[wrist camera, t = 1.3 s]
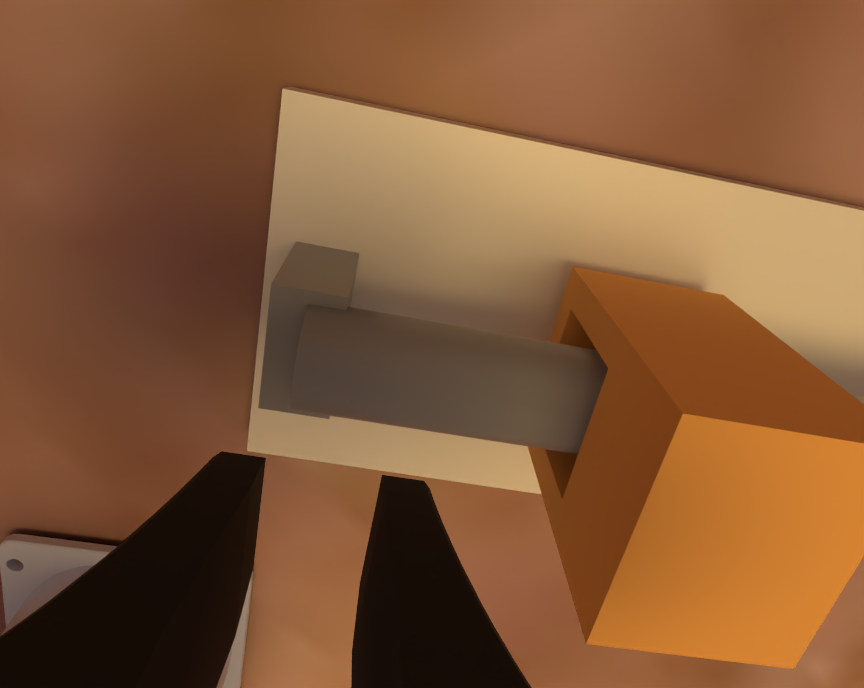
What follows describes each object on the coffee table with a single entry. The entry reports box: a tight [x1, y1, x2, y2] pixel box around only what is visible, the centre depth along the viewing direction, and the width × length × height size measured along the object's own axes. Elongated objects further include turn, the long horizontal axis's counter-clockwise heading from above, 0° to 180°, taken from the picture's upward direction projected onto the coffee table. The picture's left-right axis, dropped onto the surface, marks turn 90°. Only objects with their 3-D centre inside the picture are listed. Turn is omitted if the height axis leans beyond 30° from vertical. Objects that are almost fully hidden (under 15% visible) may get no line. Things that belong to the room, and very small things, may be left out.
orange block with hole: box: [528, 266, 864, 669], centre depth 14 cm, size 4×5×7 cm
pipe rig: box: [247, 86, 864, 494], centre depth 17 cm, size 27×10×6 cm, turn 79°
